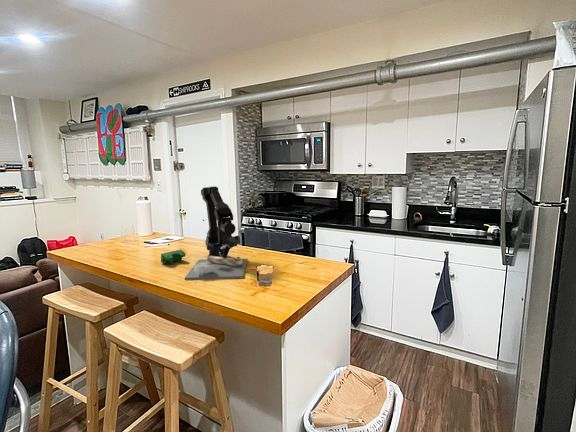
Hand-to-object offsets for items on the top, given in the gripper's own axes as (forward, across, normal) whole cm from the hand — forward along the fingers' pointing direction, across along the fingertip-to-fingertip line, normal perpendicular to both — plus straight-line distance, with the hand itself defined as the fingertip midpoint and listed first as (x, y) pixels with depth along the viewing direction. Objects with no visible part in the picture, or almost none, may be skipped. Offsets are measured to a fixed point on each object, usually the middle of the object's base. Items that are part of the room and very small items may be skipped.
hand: (224, 260), depth 164 cm
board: (+2, -8, -4) cm, 9 cm away
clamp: (+2, -14, +24) cm, 28 cm away
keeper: (+2, -18, -5) cm, 19 cm away
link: (+1, -2, -3) cm, 4 cm away
